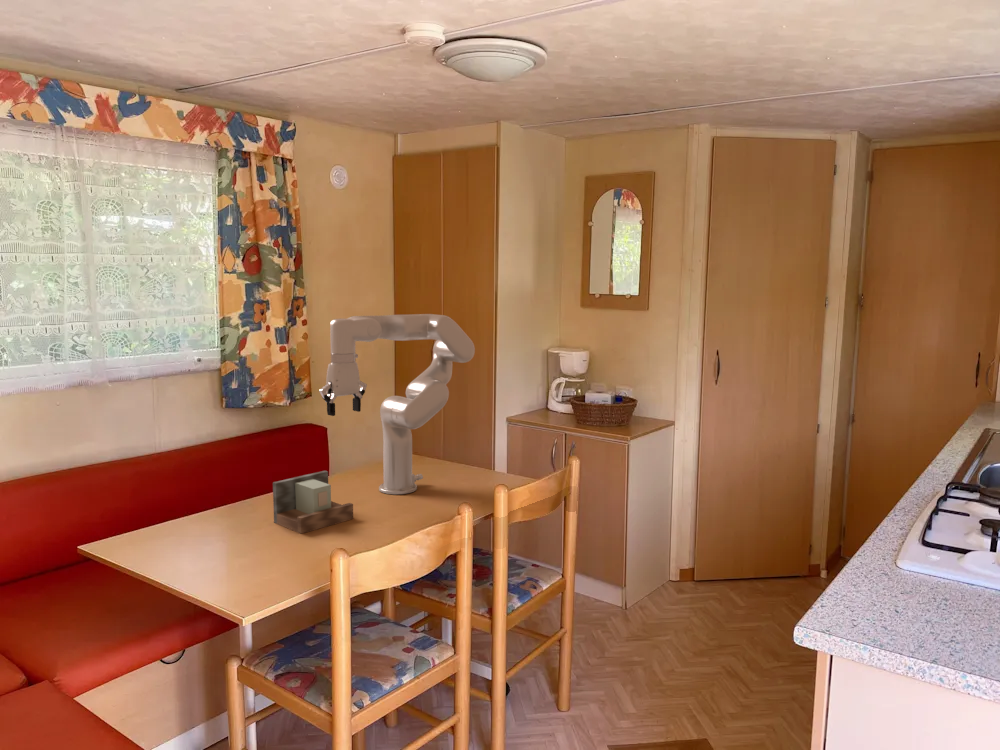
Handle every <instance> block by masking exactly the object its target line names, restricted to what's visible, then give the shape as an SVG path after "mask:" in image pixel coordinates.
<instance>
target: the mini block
mask: <svg viewBox="0 0 1000 750" xmlns="http://www.w3.org/2000/svg"><path fill="white" fill-rule="evenodd" d="M295 496H296V510H299V511H302V512H304V513H307V514H310V513H314V512H318V511H321V510H325V509H329V508H331V501H332V487H331V484H329V483H328V484H327V483H324V482H321V481H318V480H314V479H310V480H305V481H301V482H297V483H295Z"/></svg>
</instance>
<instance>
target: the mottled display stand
mask: <svg viewBox="0 0 1000 750" xmlns="http://www.w3.org/2000/svg"><path fill="white" fill-rule="evenodd" d="M310 479H314V480H318V481H321V482H324V483H327V484H329V471H327V470H322V471H316V472H313V473H308V474H303V475H299V476H294V477H291V478H286V479H283V480H278V481H273V482H272V496H273V501H272V502H273V503H272V504H273V524H274V523H275V524H276V525H279V526H281V527H284V528H286V529H289V530H291V531H293V532H296V533H298V534H300V535H303V534H305V533H309V532H311V531H316V530H320V529H323V528H326V527H329V526H333V525H336V524H339V523H340V524H341V523H343V522H346V521H350V520H353V519H354V504H353V503H351V502H348V503H344V504H341V503H338V502H335V501H332V500H331V508H329V509H325V510H321V511H318V512H314V513H310V514H307V513H304V512H302V511H299V510H296V496H295V483H297V482H301V481H305V480H310Z"/></svg>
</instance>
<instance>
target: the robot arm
mask: <svg viewBox="0 0 1000 750" xmlns="http://www.w3.org/2000/svg"><path fill="white" fill-rule="evenodd" d="M329 324H330V328H329V330H330V332H329V333H330V336H329V337H330V363H328V365H327V370H326V378H325V379H326V380H325V385H324V386H322V387H320V389H319V391H318V392H319V394H320V396H321V398H322V399H323V400H324V401H325V403H326V413H327V415H328V416H332V417H333V416H336V404H335V400H336V398H337V397H343V396H350V395H352V396H353V398H352V411H354V412H358V413H359V412H361V409H362V408H361V407H362V406H361V405H362V404H361V403H362V402H361V401H362V399H363V397H364V395H365V393H366V389H367V387H368V384H367V383H366V382H364V381H361V379H360V371H359V366H358V365H359V364H358V362H357V360H356V359H358V357H359V356H358V355H359V354H357V353H356V342H366V343H367V342H369V343H370V342H374V341H376V340H378V339H382V340H387V341H388V340H390V341H402V342H405V341H420V340H421V341H422V340H423V341H424V340H435V342H434V344H433V349H432V352H433V353H432V361H431V362H430V365H429V366H428V367H427V368H426V369H424V371H422V372H421V373H420V374H419V375H417V377H415V378H414V379H413V380H412V381H411V382H409V383H408V385H407V386H406V389H405V396H400V395H390V396H388V397H386V398H385V399H384V400H383V401H382V403H381V405H380V408H379V409H380V410H379V414H380V415H379V416H380V420H381V421H380V422H381V426H382V442H383V445H382V448H383V449H382V451H383V453H382V454H383V455H382V459H383V460H382V461H383V462H382V465H383V467H382V468H383V469H382V470H383V483H381V484H380V485H379V486H378V490H379V492H380V493H382V494H387V495H405V494H406V495H407V494H411V493H414V492H415V491H417V489H418V485H417V484H416V482H417V481H420V480H422V479H424V475H423V474H422V473H417V474H415V473H413V435H412V430H416V429H418V428H421V427H422V426H424V425H425V424H426V423H427V422H428V421H430V420H431V419H432V418H433V417H435V416H436V414H438V413H439V412H440V411H441V410H442V409H443V408H444V407H445V406H446V404H447V402H448V400H449V396H450V391H449V387H448V386H447V384H448V383H449V382H450V381H451V379H452V375H453V362H454V363H459V364H460V363H461V364H463V363H468V362H470V361H471V360H472V359H473V358H474V356H475V352H476V348H475V344H474V342H473V340H472V339H471V337H469V336H468V334H467V333H466V332H465V331H464V330H463V328H462V327H460V325H459V324H458V323H457V322H456V321H455V320H454V319H452V318H451V317H450V316H448V315H444V314H436V313H435V314H433V313H421V314H420V313H415V314H412V313H411V314H387V315H384V314H383V315H353V316H350V317H347V318H334V319H332V320H331V321H330V323H329Z"/></svg>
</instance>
